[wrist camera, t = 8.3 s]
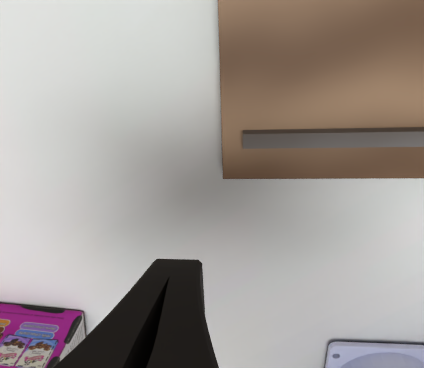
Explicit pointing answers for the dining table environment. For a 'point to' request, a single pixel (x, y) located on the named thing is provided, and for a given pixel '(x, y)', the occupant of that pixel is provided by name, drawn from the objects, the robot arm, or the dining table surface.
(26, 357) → the candy bar box
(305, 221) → the dining table surface
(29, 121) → the dining table surface
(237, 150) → the base
